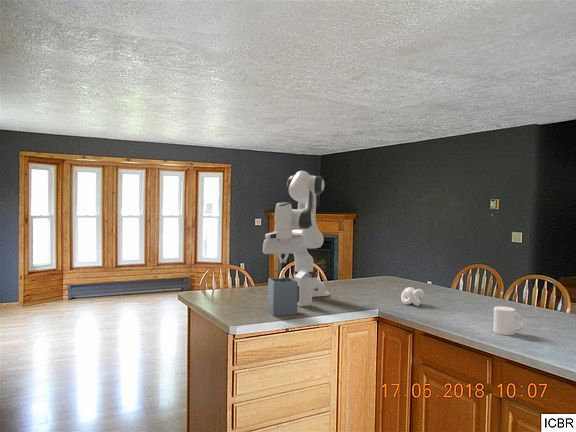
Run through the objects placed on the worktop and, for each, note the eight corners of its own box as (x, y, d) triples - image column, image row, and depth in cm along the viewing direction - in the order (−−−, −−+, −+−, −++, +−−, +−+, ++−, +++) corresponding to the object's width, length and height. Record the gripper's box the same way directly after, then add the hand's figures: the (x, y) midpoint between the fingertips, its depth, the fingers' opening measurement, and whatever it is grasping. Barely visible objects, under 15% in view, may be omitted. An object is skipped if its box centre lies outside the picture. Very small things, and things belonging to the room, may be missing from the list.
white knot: (416, 302, 251) (416, 286, 250) (429, 306, 239) (429, 289, 239) (398, 303, 247) (398, 286, 247) (410, 307, 236) (411, 290, 236)
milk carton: (300, 306, 233) (300, 270, 233) (293, 304, 240) (294, 269, 239) (311, 305, 237) (312, 270, 236) (305, 303, 243) (305, 268, 243)
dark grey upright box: (295, 308, 229) (295, 277, 228) (301, 314, 217) (302, 281, 217) (267, 310, 225) (268, 278, 225) (273, 315, 213) (273, 282, 213)
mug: (491, 305, 194) (521, 307, 191) (491, 329, 194) (521, 331, 191) (496, 309, 186) (527, 311, 183) (495, 334, 186) (527, 336, 183)
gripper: (301, 234, 226) (301, 261, 226) (262, 234, 220) (261, 262, 221) (305, 235, 220) (304, 263, 220) (264, 235, 214) (264, 263, 215)
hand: (282, 262), depth 220 cm, fingers closed
